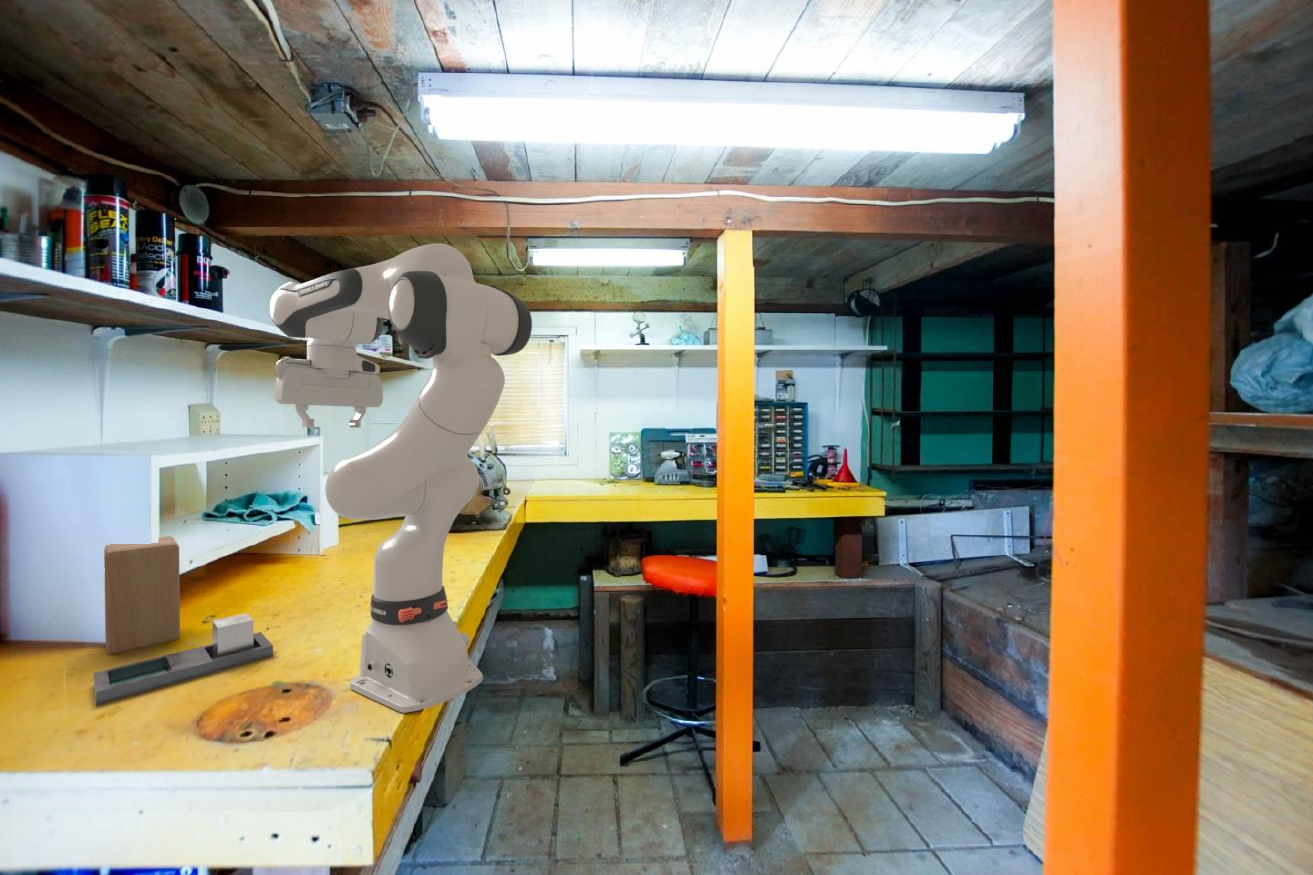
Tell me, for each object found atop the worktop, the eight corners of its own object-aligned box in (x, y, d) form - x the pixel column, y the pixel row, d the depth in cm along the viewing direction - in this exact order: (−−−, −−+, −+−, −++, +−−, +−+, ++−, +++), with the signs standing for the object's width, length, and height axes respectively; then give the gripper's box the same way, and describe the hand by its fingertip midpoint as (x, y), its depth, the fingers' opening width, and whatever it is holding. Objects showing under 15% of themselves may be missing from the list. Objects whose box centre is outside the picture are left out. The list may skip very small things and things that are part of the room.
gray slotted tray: (273, 659, 93) (272, 645, 93) (96, 709, 77) (95, 692, 76) (260, 644, 99) (260, 631, 99) (93, 688, 82) (93, 672, 82)
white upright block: (253, 657, 93) (253, 619, 93) (218, 666, 89) (217, 627, 89) (247, 649, 96) (246, 612, 96) (212, 658, 92) (212, 620, 92)
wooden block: (105, 642, 99) (104, 542, 99) (175, 627, 107) (174, 534, 106) (106, 658, 93) (104, 551, 92) (180, 641, 100) (179, 542, 100)
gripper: (283, 355, 96) (284, 427, 96) (386, 366, 113) (387, 427, 114) (267, 357, 99) (268, 427, 99) (370, 368, 117) (370, 427, 117)
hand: (332, 427), depth 107 cm, fingers open, 8 cm apart
